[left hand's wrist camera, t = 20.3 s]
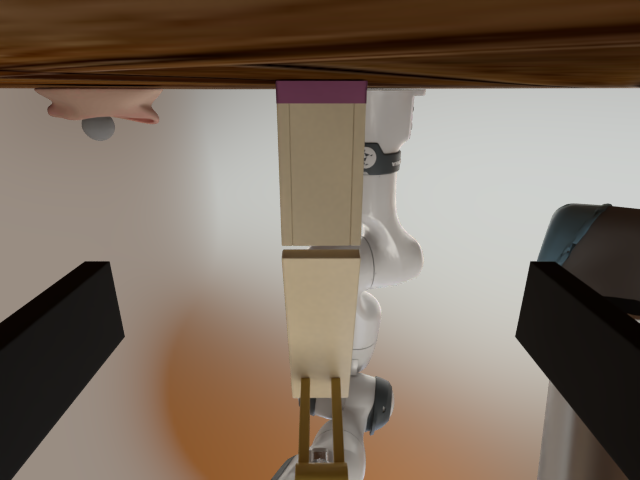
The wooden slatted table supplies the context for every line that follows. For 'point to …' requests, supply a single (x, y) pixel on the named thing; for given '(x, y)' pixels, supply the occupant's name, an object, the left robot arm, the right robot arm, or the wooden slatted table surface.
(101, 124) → the light bulb
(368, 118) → the right robot arm
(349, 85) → the purple-based tan box
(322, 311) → the lid
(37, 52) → the wooden slatted table surface
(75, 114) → the anatomical model
